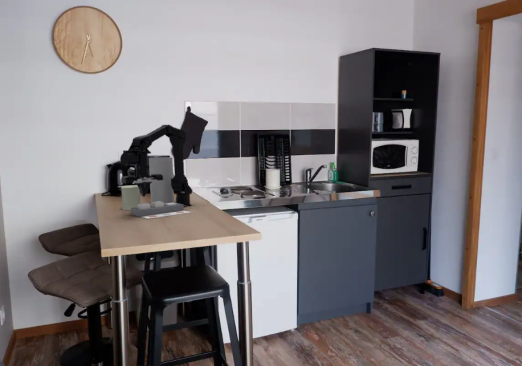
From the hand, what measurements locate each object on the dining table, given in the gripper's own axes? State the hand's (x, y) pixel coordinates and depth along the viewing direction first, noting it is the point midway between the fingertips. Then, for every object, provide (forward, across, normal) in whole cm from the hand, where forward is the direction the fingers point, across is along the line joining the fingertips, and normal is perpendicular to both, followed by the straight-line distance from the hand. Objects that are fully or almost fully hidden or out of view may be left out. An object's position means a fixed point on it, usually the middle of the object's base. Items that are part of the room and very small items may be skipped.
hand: (143, 196), depth 210 cm
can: (+9, -2, -20) cm, 22 cm away
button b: (+8, -14, 0) cm, 16 cm away
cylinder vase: (+9, -21, -23) cm, 32 cm away
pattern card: (+8, -7, +10) cm, 14 cm away
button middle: (+6, -7, 0) cm, 9 cm away
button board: (+8, -7, 0) cm, 11 cm away
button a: (+6, 0, 0) cm, 6 cm away
